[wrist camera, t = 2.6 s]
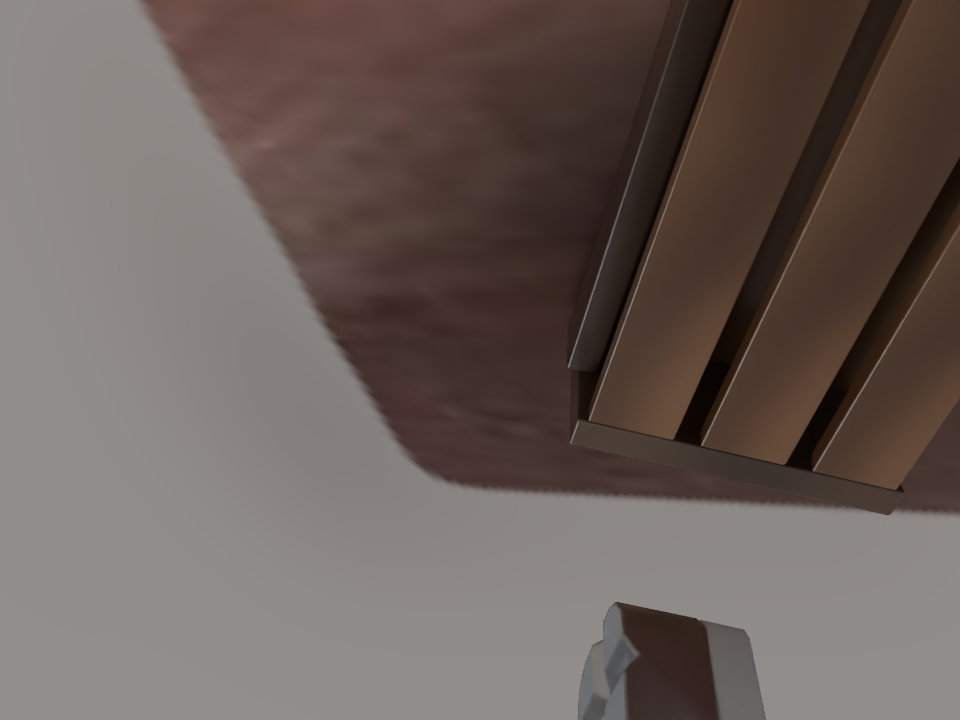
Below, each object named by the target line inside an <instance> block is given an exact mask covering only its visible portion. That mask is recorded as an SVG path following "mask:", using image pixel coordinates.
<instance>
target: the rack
mask: <svg viewBox="0 0 960 720" xmlns="http://www.w3.org/2000/svg"><path fill="white" fill-rule="evenodd" d="M567 368H569V369H572V370H571V407H570V443H571V444H573V445H578V446H582V447H586V448H591V449H595V450H600V451H604V452H609V453H613V454H618V455H622V456H627V457H631V458H635V459H640V460H644V461H649V462H653V463H658V464H662V465H667V466H671V467H675V468H680V469H684V470H689V471H693V472H698V473H702V474H707V475H711V476H715V477H720V478H724V479H729V480H733V481H738V482H742V483H747V484H751V485H755V486H760V487H764V488H769V489H773V490H778V491H782V492H787V493H791V494H795V495H800V496H804V497H809V498H813V499H818V500H822V501H827V502H831V503H836V504H840V505H844V506H849V507H853V508H858V509H862V510H867V511H871V512H876V513H880V514H884V515H890V514H891V513H892V511H893V510H894V509H895V507H896V506H897V504H898V503H899V501H900V500H901V499H902V497H903V496H904V490H903V488H902V486H901V483H902V481H903V480H904V478H905V477H906V475H907V474H908V472H909V471H910V470H911V468H912V467H913V465H914V464H915V462H916V461H917V459H918V458H919V457H920V455H921V454H922V452H923V451H924V449H925V448H926V446H927V445H928V444H929V442H930V441H931V439H932V438H933V436H934V435H935V433H936V432H937V430H938V429H939V428H940V426H941V425H942V423H943V422H944V420H945V419H946V417H947V416H948V415H949V413H950V412H951V410H952V409H953V407H954V406H955V404H956V403H957V402H958V400H959V399H960V0H671V3H670V6H669V9H668V13H667V16H666V19H665V22H664V25H663V28H662V32H661V35H660V38H659V41H658V44H657V47H656V51H655V54H654V57H653V60H652V63H651V67H650V70H649V73H648V76H647V79H646V82H645V86H644V89H643V92H642V95H641V98H640V101H639V105H638V108H637V111H636V114H635V117H634V121H633V124H632V127H631V130H630V133H629V136H628V140H627V143H626V146H625V149H624V152H623V155H622V159H621V162H620V165H619V168H618V171H617V175H616V178H615V181H614V184H613V187H612V190H611V194H610V197H609V200H608V203H607V206H606V209H605V213H604V216H603V219H602V222H601V225H600V229H599V232H598V235H597V238H596V241H595V244H594V248H593V251H592V254H591V257H590V260H589V264H588V267H587V270H586V273H585V276H584V279H583V283H582V286H581V289H580V292H579V295H578V298H577V302H576V305H575V308H574V311H573V314H572V318H571V321H570V324H569V327H568V348H567Z"/></svg>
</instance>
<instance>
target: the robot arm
mask: <svg viewBox="0 0 960 720" xmlns="http://www.w3.org/2000/svg"><path fill="white" fill-rule="evenodd" d="M603 632H604V639H603V640H601V641H599V642H597V643H595V644H593V646H592V648H591V650H590V653H589V655H588V658H587V660H586V663H585V667H584V671H583V675H582V680H581V684H580V693H579V703H578V720H766V717H765V712H764V707H763V703H762V698H761V693H760V688H759V683H758V678H757V673H756V668H755V663H754V658H753V653H752V648H751V643H750V638H749V637H748V635H747V634H746V632H745V631H744V630H743V629H738V628H734V627H729V626H724V625H720V624H716V623H711V622H707V621H702V620H700V621H699V620H697V619H696V618H691V617H687V616H681V615H677V614H672V613H667V612H662V611H658V610H653V609H648V608H643V607H638V606H633V605H629V604H624V603H619V602H615V603H614V604H613V605H612V606H611V607H610V608H609V610H608V613H607V615H606V617H605V619H604V621H603Z"/></svg>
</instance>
